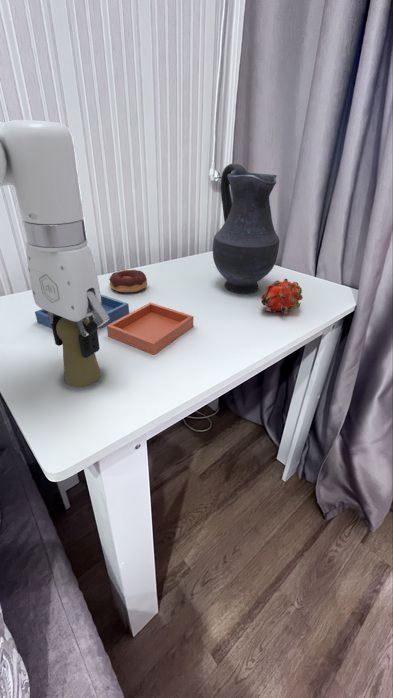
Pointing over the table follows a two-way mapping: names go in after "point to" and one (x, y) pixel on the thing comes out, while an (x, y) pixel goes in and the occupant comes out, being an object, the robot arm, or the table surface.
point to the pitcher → (245, 230)
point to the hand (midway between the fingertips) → (77, 346)
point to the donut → (128, 281)
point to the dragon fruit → (282, 296)
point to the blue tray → (110, 305)
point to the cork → (76, 356)
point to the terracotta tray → (150, 327)
